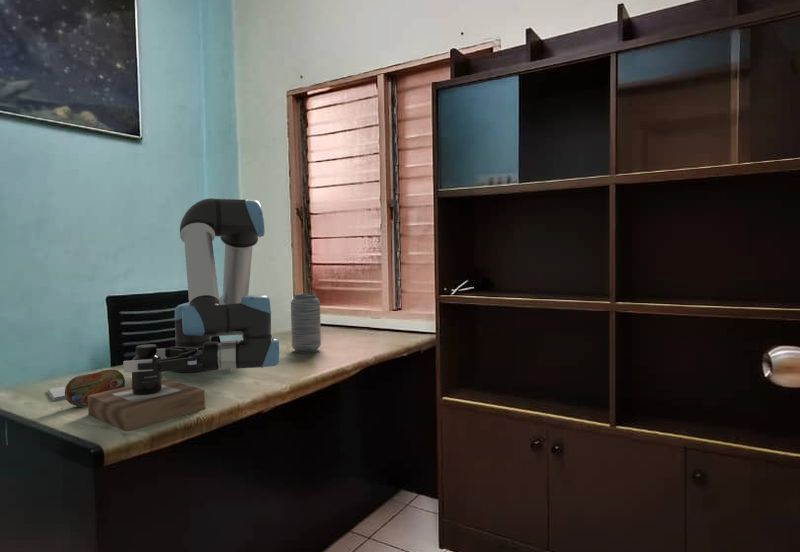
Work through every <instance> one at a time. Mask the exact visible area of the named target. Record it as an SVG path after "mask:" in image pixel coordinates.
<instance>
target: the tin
mask: <svg viewBox="0 0 800 552" xmlns="http://www.w3.org/2000/svg"><path fill="white" fill-rule="evenodd" d="M125 385H126V380H125V376H124V375H123V373H122V372H121V371H119V370H117V369H103V370H99V371H94V372H91V373H90V372H89V373H85V374H82V375H78V376H75V377H73V378H71V380H69V382H68V383H67V384H66V385H65V386H66V388H65V397H66V399H65V400H66V401H67V403H69V404H70V405H72V406H74V407H75V406H76V407H79V408H86V407H88V395H92V394H96V393H101V392H105V391H110V390H114V389H119V388H123V387H126V386H125Z"/></svg>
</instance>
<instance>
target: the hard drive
mask: <svg viewBox="0 0 800 552" xmlns="http://www.w3.org/2000/svg"><path fill="white" fill-rule="evenodd" d="M66 386H67V385H62V386H58V387H52V388H47V393H48V395H49V394H50V395H49V396H50V398H51V397H52V398H51V399H52V401H53V400H54V401H53V402H58V401H59V402H60V401H64V400H66V397H65V388H66Z"/></svg>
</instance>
